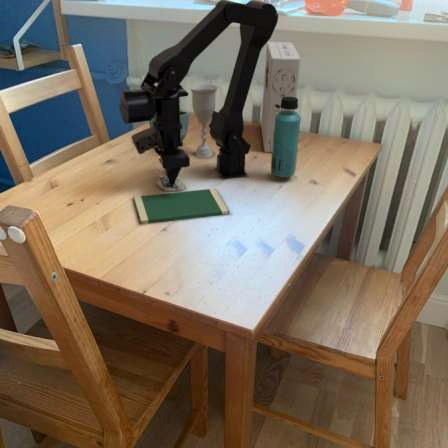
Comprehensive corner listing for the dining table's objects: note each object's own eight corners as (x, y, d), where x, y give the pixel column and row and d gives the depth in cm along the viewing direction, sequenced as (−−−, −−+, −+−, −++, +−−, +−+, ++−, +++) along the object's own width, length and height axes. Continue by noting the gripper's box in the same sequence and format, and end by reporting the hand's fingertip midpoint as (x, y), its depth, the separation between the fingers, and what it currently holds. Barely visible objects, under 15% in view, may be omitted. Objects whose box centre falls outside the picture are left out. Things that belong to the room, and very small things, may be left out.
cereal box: (290, 153, 140) (301, 58, 124) (264, 152, 140) (271, 57, 124) (284, 128, 157) (292, 42, 141) (260, 127, 157) (266, 41, 141)
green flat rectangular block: (215, 191, 119) (215, 188, 118) (229, 214, 110) (229, 210, 109) (133, 199, 114) (133, 196, 114) (140, 224, 105) (140, 220, 104)
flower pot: (168, 136, 148) (167, 106, 143) (190, 143, 144) (190, 112, 139) (148, 144, 142) (146, 113, 137) (171, 151, 138) (170, 119, 133)
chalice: (197, 160, 134) (196, 92, 123) (187, 152, 138) (185, 85, 127) (221, 156, 136) (222, 89, 125) (210, 148, 141) (210, 82, 130)
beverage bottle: (297, 174, 128) (306, 95, 115) (291, 184, 123) (300, 103, 110) (273, 170, 129) (280, 92, 117) (266, 180, 124) (273, 99, 112)
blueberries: (168, 176, 125) (168, 169, 124) (191, 185, 121) (191, 178, 120) (149, 185, 121) (149, 177, 119) (173, 194, 117) (172, 187, 116)
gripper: (127, 107, 116) (133, 169, 126) (137, 133, 102) (143, 201, 112) (173, 104, 118) (175, 165, 128) (189, 130, 104) (190, 196, 114)
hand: (170, 181), depth 120 cm, fingers closed on blueberries, 3 cm apart
